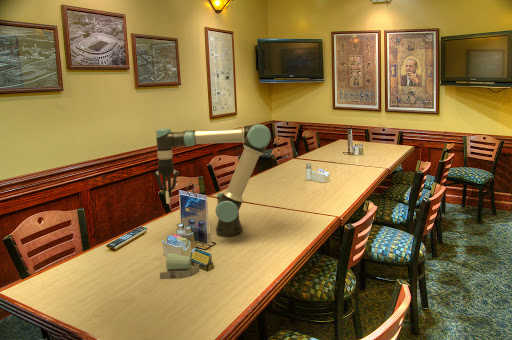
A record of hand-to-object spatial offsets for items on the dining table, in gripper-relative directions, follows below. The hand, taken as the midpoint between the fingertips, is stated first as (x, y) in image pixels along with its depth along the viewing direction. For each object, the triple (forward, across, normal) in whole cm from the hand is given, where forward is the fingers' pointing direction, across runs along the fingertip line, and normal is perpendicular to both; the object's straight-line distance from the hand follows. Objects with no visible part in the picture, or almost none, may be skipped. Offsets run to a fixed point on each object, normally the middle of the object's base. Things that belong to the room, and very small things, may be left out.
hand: (168, 203), depth 233 cm
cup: (+27, -13, +29) cm, 42 cm away
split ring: (+26, -10, +30) cm, 41 cm away
